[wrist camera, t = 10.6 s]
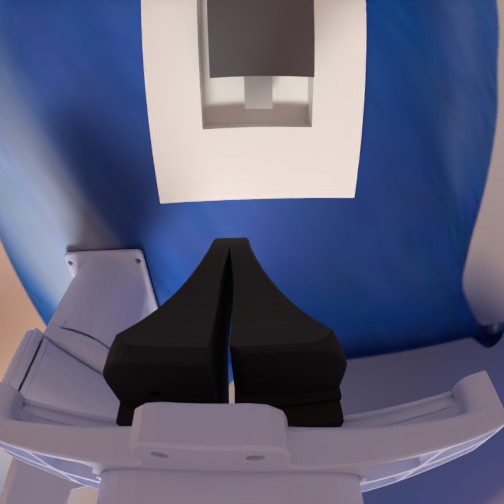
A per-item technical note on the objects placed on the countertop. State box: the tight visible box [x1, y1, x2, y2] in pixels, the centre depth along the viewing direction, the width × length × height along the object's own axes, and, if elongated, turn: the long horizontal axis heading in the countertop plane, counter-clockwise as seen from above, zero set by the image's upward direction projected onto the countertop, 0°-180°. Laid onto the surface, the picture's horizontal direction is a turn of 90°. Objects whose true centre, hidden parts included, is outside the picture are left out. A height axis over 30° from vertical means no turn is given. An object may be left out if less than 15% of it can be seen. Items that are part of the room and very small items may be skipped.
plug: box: [207, 0, 315, 109], centre depth 13 cm, size 7×4×6 cm
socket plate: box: [141, 0, 366, 204], centre depth 15 cm, size 18×13×3 cm
